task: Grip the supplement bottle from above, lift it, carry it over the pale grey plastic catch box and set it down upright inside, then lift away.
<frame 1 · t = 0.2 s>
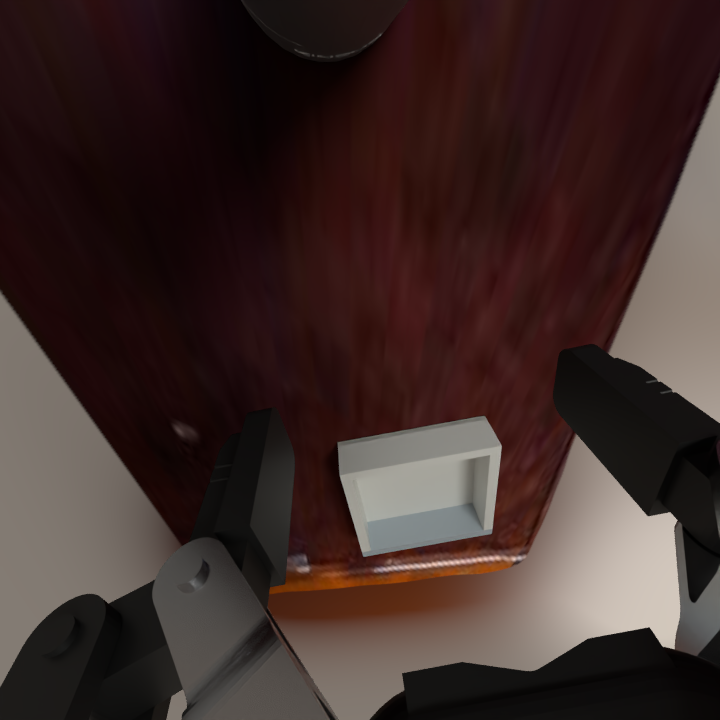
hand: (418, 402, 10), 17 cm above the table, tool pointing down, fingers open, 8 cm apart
catch box: (415, 475, 40), on the table
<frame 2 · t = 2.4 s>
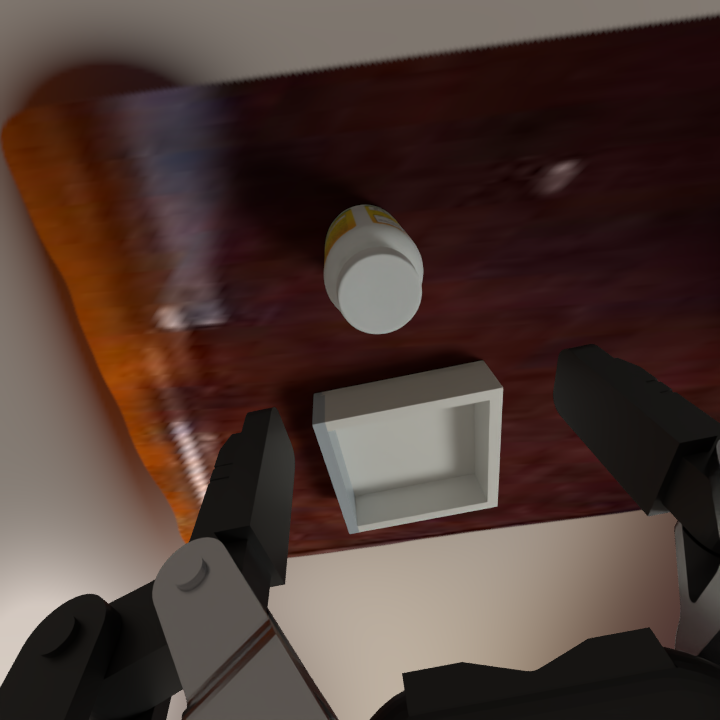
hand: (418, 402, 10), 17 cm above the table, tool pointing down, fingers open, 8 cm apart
catch box: (407, 438, 35), on the table
supplement bottle: (362, 244, 25), on the table
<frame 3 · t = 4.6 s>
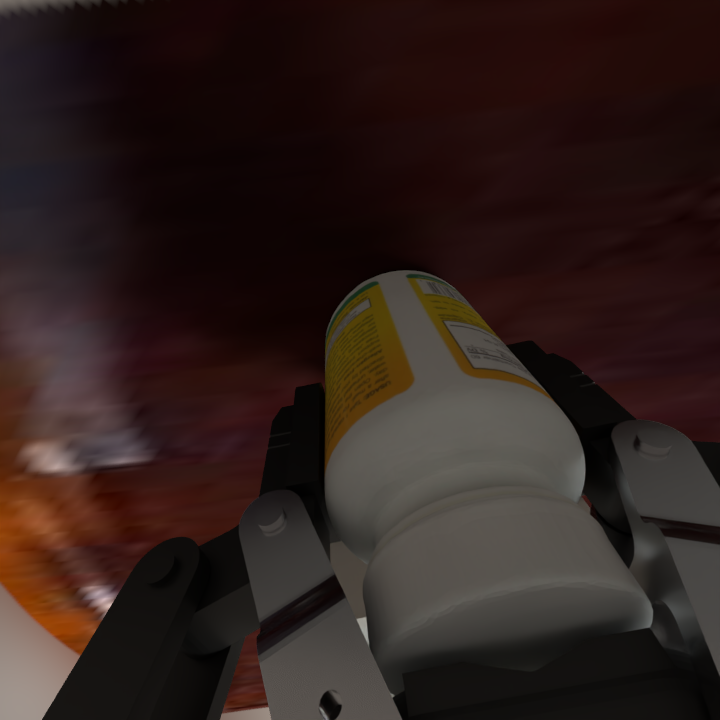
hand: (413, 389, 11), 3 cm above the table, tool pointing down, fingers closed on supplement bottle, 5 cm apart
catch box: (447, 585, 23), on the table
supplement bottle: (395, 335, 13), on the table, touching gripper
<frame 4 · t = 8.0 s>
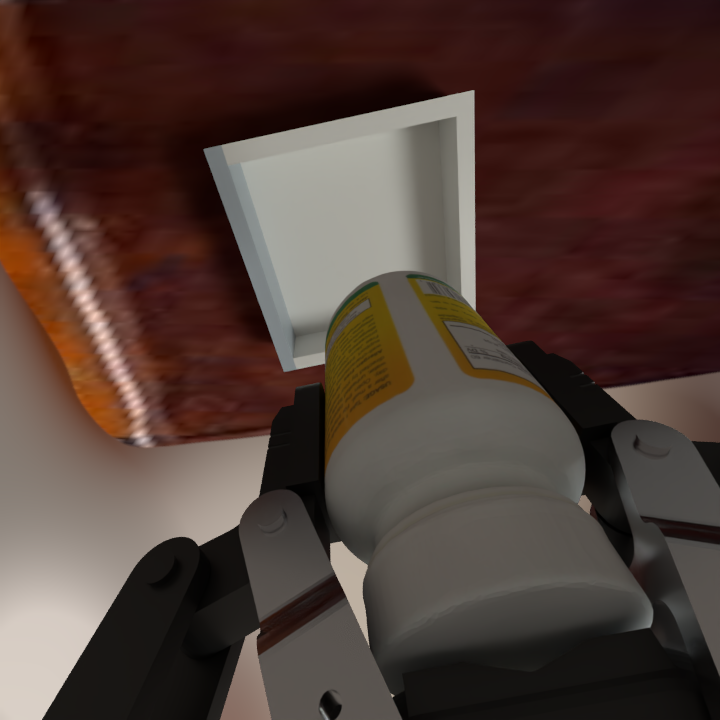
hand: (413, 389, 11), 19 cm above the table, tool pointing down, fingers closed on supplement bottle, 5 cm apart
catch box: (356, 241, 26), on the table
supplement bottle: (395, 335, 13), point 16 cm above the table, touching gripper
when the fingers open (5 cm above the table, at t = 11.3 s): supplement bottle drops 1 cm, resting on catch box.
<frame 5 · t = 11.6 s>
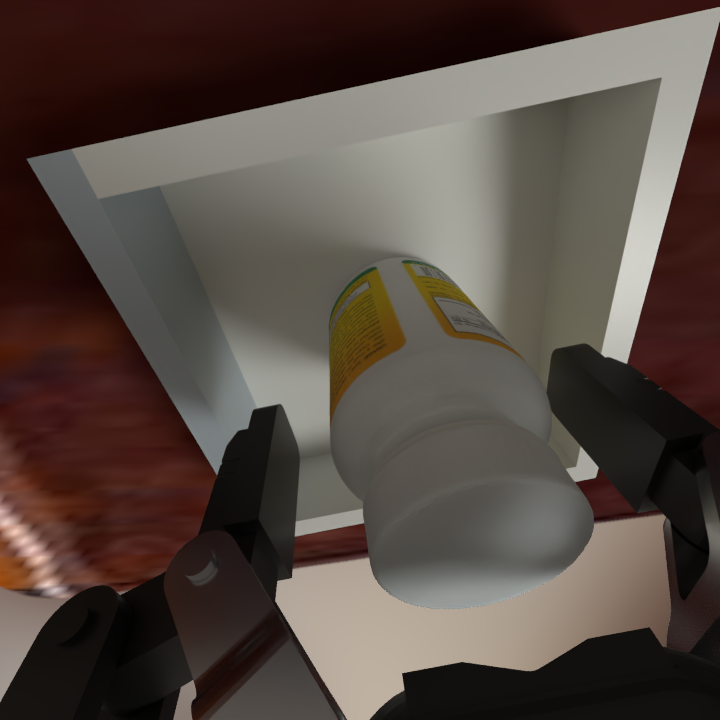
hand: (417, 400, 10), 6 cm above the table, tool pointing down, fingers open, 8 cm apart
catch box: (387, 319, 15), on the table
supplement bottle: (392, 318, 14), resting on catch box
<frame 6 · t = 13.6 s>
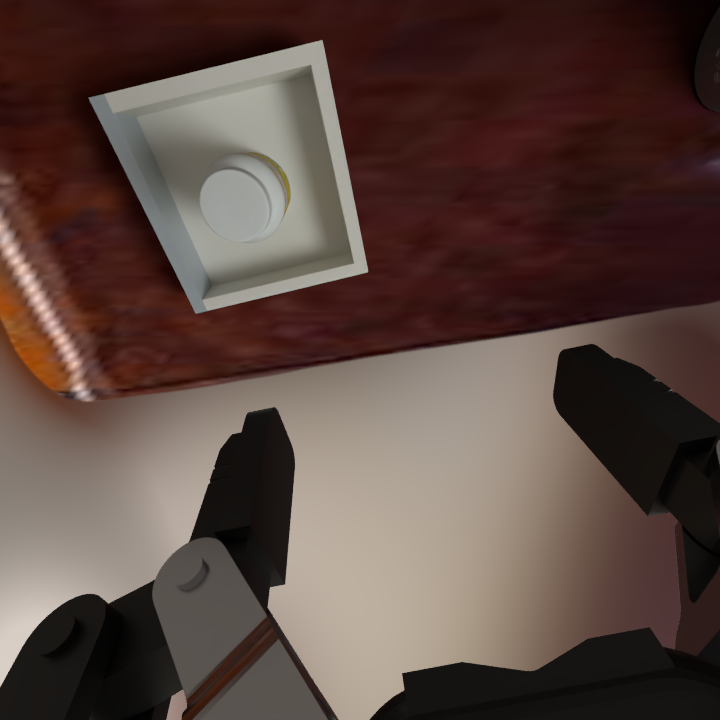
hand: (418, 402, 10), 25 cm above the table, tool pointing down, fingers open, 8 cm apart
catch box: (256, 192, 29), on the table
supplement bottle: (257, 190, 29), resting on catch box
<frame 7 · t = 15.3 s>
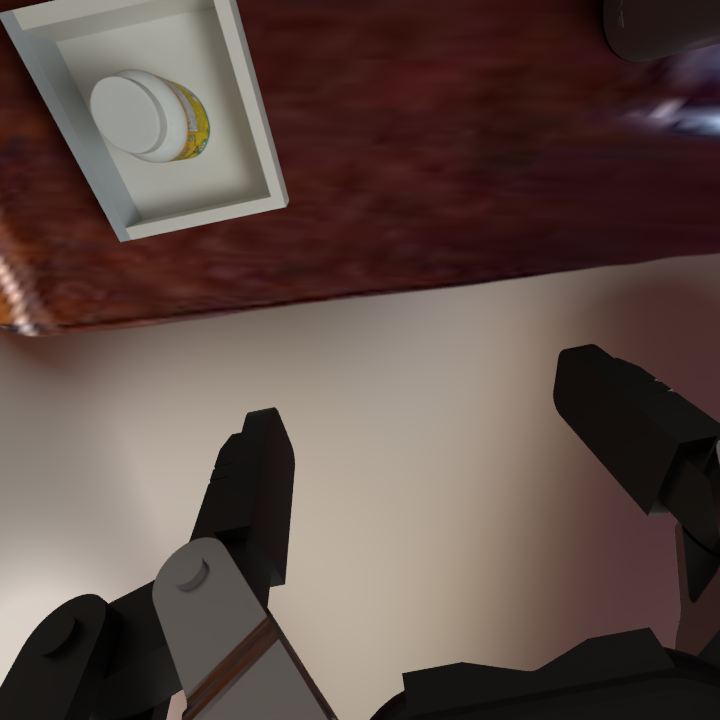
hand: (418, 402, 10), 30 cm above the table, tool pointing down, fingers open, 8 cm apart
catch box: (179, 125, 30), on the table
supplement bottle: (179, 123, 30), resting on catch box
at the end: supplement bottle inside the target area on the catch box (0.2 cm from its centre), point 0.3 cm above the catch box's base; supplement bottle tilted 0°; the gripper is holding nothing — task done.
